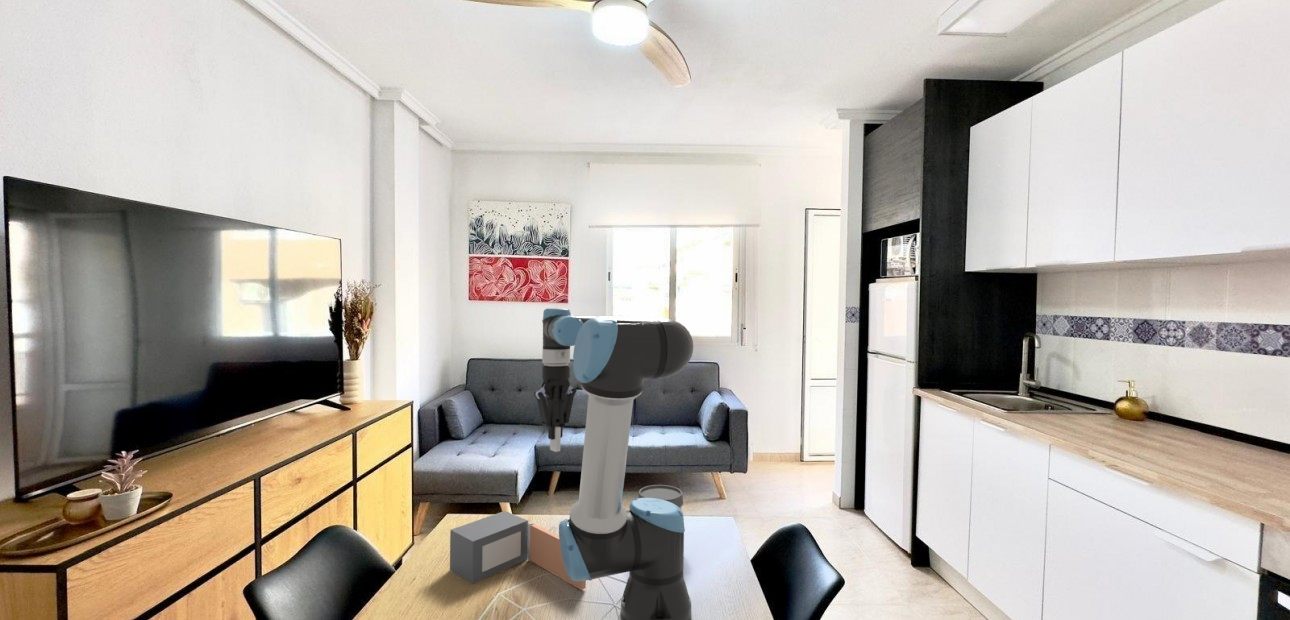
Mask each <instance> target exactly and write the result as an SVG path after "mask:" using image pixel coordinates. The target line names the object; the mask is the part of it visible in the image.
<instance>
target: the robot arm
mask: <svg viewBox="0 0 1290 620" xmlns="http://www.w3.org/2000/svg"><path fill="white" fill-rule="evenodd" d="M542 313H543V314H542V315H543V316H542V320H541V322H542V354H541V355H542V356H541V363H542V368H541V369H542V372H541V373H542V374H541V378H542V384H541V388H540V389H539V390H538V391H536V390H535V391H534V392H533V395H534V397H535V399H536V400H537V407H538V410H539V418H540V420H541V424H542V426H545V427H547V432H548V433H547V434H548V436H547V437H548V440H549V451H552V452H554V453H558V452H561V438H563V430H564V429H563V428H564V427H566V424H569V422H570V418H571V412H572V406H573V403H574V399H575V396H576V394H577V391H578V388H576V387H573V386H571V383H570V380H569V379H570V377H571V366H570V365H569V364H570V362H571V347H573V354H572V357H573V358H572V360H573V365H572V369H573V374H574V377H575V378H576V380H577V381H578V382H581V386H580V387H581V389H582V390H583V391H584V392H585V393H586V394H587V397H588V398H587V406H586V407H587V408H586V418H585V419H586V421H585V429H584V430H585V431H584V440H583V451H582V460H581V461H582V463H581V474H580V484H579V496H578V500H577V501H576V502H574V504H573V505H572V506H571V508H570V511H569V519H568V518H565V519H562V520H561V521H560V522H559V525H558V536H559V540H560V547H561V553H562V558H563V562H564V566H565V569H566V572H567V574H568V576H569V578H570V579H571V580H573V581H593V580H596V579H600V578H605V577H609V576H610V577H611V576H613V575H614V576H615V575H619V574H624V573H628V572H629V575H628V577H627V581H626V585H625V588H624V589H623V590H624V591H623V594H622V597H621V601H620V615H621V617H623V618H622V619H623V620H691V617H692V600H691V597H690V595H689V592H688V591H689V590H688V587H687V585H686V581H685V577H684V576H685V575H684V567H685V566H684V565H685V564H684V560H685V557H684V555H685V554H684V551H685V531H686V529H685V521H684V520H685V519H684V518H685V517H684V513H683V510H682V508H681V509H680V508H679V507H678V506H677V505H675V504H673V503H671V502H668V501H665V500H661V499H656V498H638V497H637V498H635V499H632V500H631V502H630V504H629V507H628V508H629V510H627V509H626V507H625V506H624V505H623V503H622V502H623V494H624V484H625V476H626V468H627V467H626V466H627V459H628V451H629V443H630V442H629V441H630V431H631V424H632V417H633V416H632V414H633V405H634V400H635V399H636V398H638V397H639V396H640V395H641V394H642V393H643V389H644V382H645V380H656V379H664V378H665V379H666V378H668V377H672V376H674V375H676V374H679V373H680V372H681V371H683V369H685V367H687V366H688V364H689V362H690V361H691V359H692V357H693V353H694V340H693V337H692V335H691V333H690V331H689V330H688V328H686V326H685V325H684V324H682V323H680V322H678V321H676V320H673V319H669V318H664V317H631V316H624V315H615V316H613V315H612V316H611V315H610V316H609V315H605V316H604V315H602V316H601V315H600V316H598V315H597V316H596V315H571V310H570V309H569V308H555V307H554V308H545V309H544V310H543V312H542ZM543 364H544V365H543Z"/></svg>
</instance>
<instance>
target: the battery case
mask: <svg viewBox="0 0 1290 620" xmlns="http://www.w3.org/2000/svg"><path fill="white" fill-rule="evenodd" d="M528 523H529V520H528V519H525V518H522V517H521V516H518V515H515V514H514V513H511V512H508V511H506V510H503V511H501V512H498V513H495V514H492V515H488V516H486V517H483V518H481V519H478V520H474V521H471V522H468V523H466V524H462V525H460V526H458V527H457V526H456V527H455V528H451V529H450V531H449V532H450V533H449V534H450V536H449V537H450V539H449V542H450V543H449V571H450V572H452V573H454V574H455V575H457V576H458V577H461V578H462V579H464V580H465V581H467V582H468V583H471V585H474V584H476V583H478V582H481V581H483V580H484V579H487V578H490V577H492V576H493V575H496V574H498V573H500V572H502V571H505V570H507V569H509V568H511V567H513V566H515V565H518V564H520V563H522V562H524V561H528Z"/></svg>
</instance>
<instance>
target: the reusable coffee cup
mask: <svg viewBox="0 0 1290 620" xmlns="http://www.w3.org/2000/svg"><path fill="white" fill-rule="evenodd" d="M638 498H656V499H661V500H665V501H668V502H671V503H673V504H675V505H677V506H678V507H679V508H680V509H681V510H682V507H683V505H684V497H683V491H682V490H681V489H680V488H678V487H675V486H671V485H667V484H654V485H653V484H652V485H646V486H644V487H642V488H640V489H639V490H638V495H637V499H638Z"/></svg>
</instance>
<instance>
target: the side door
mask: <svg viewBox="0 0 1290 620" xmlns="http://www.w3.org/2000/svg"><path fill="white" fill-rule="evenodd" d="M527 561H530V562H532V563H534V564H536V565H538V566H539V567H541V568H542V569H545V570H546V571H547V572H550V573H552V575H555V576H556V577H558V578H559V579H562V580H564V581H565V582H566V583H568V584H570V585H572V586H574V587H576V588H577V589H579V590H581V591H583V590H584V589H586V588H587V586H586V585H587V583H586V581H587V580H586V581H573V580H571V579H570V578H569V576H568V574H567V572H566V569H565V566H564V562H563V558H562V553H561V547H560V540H559V534H556V533H555V532H552V531H550V530H548V529H546V528H544V527H541V526H540V525H538V524H536V523H535V522H528V557H527Z"/></svg>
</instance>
